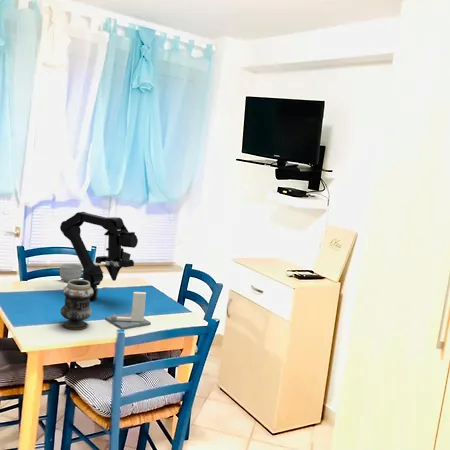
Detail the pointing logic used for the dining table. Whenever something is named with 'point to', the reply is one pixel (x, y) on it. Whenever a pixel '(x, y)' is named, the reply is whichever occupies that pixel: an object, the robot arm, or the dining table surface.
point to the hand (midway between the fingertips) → (114, 280)
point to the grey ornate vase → (76, 304)
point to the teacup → (70, 271)
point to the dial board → (127, 322)
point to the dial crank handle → (134, 308)
